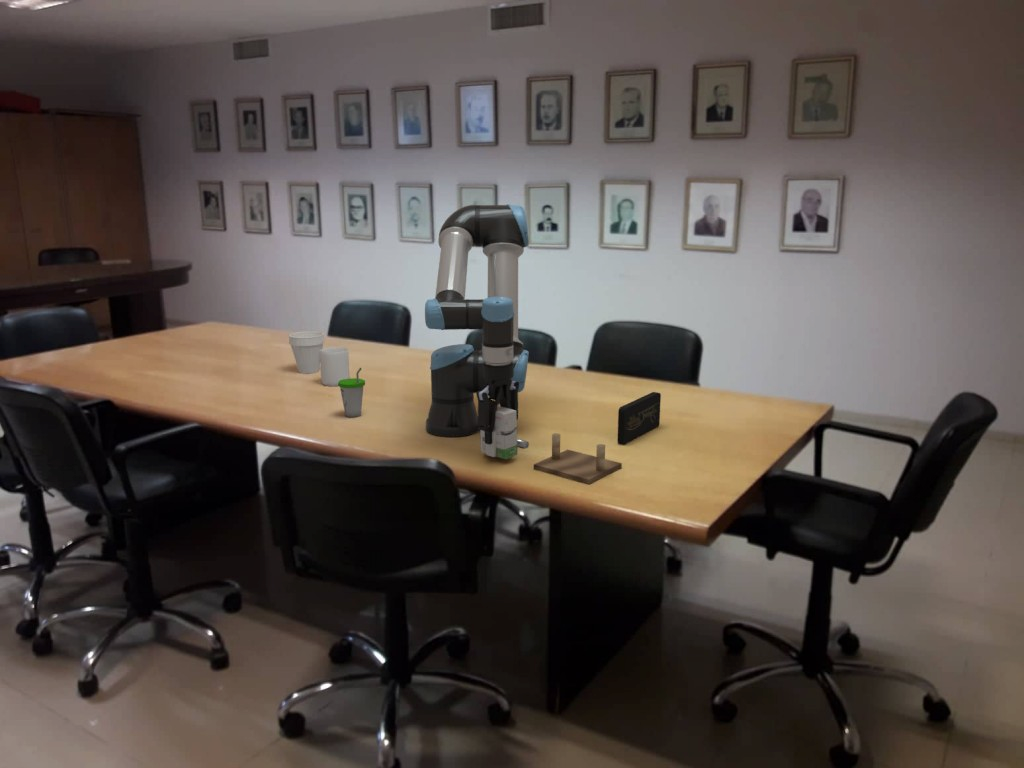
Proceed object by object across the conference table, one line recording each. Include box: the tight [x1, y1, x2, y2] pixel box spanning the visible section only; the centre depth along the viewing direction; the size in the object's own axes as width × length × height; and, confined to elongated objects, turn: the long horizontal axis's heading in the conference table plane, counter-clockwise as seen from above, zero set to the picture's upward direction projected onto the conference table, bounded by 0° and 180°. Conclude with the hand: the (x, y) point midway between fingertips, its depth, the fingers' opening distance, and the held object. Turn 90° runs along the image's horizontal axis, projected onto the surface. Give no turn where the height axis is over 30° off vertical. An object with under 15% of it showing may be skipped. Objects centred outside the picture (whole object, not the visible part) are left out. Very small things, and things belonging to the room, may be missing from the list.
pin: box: [517, 438, 530, 449], centre depth 213 cm, size 8×2×2 cm
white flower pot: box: [288, 330, 325, 375], centre depth 291 cm, size 12×12×14 cm
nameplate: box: [617, 391, 662, 445], centre depth 220 cm, size 21×2×10 cm, turn 144°
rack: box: [533, 432, 623, 485], centre depth 194 cm, size 16×14×7 cm
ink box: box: [480, 405, 518, 460], centre depth 200 cm, size 9×5×12 cm, turn 47°
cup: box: [337, 367, 366, 419], centre depth 237 cm, size 8×8×15 cm
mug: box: [319, 346, 351, 387], centre depth 275 cm, size 10×12×12 cm
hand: (498, 452), depth 202 cm, fingers closed on ink box, 5 cm apart
